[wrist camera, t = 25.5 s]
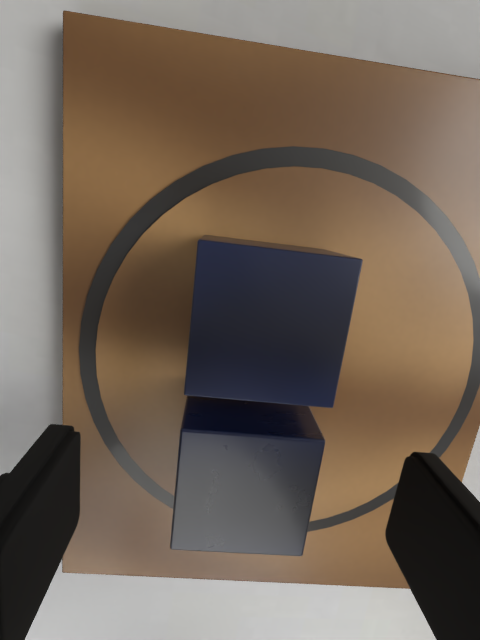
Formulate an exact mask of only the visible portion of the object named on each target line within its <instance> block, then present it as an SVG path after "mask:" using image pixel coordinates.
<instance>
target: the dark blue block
mask: <svg viewBox="0 0 480 640" xmlns="http://www.w3.org/2000/svg"><path fill="white" fill-rule="evenodd" d="M325 442H326V441H325V439H324V436H323V434H322V432H321V430H320V428H319V426H318V424H317V422H316V420H315V418H314V416H313V414H312V412H311V410H310V408H309V406H301V405H290V404H278V403H266V402H255V401H243V400H232V399H220V398H208V397H197V396H187V398H186V403H185V408H184V413H183V419H182V424H181V429H180V439H179V450H178V461H177V472H176V483H175V494H174V505H173V516H172V528H171V539H170V548H171V549H172V550H189V551H208V552H227V553H246V554H265V555H284V556H302V555H303V551H304V546H305V541H306V536H307V531H308V526H309V521H310V516H311V511H312V506H313V501H314V496H315V491H316V486H317V482H318V477H319V472H320V467H321V462H322V457H323V452H324V447H325Z"/></svg>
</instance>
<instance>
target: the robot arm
mask: <svg viewBox="0 0 480 640" xmlns="http://www.w3.org/2000/svg"><path fill="white" fill-rule="evenodd" d="M80 448H81V435H80V432H76V431H74V427H73V426H69V425H56V424H51V425H49V426H48V427H47V428H46V430H45V431H44V432H43V433H42V435H41V436H40V437H39V438H38V439H37V441H36V442H35V443H34V444H33V445H32V447H31V448H30V449H29V450H28V452H27V453H26V454H25V455H24V456H23V458H22V459H21V460H20V461H19V462H18V464H17V465H16V466H15V467H14V469H13V470H12V471H11V472H10V473H5V474H2V475H1V476H0V640H25V637H26V635H27V633H28V631H29V629H30V627H31V624H32V622H33V620H34V618H35V616H36V614H37V611H38V609H39V607H40V605H41V603H42V601H43V598H44V596H45V594H46V592H47V590H48V588H49V585H50V583H51V581H52V579H53V577H54V575H55V572H56V570H57V568H58V566H59V564H60V562H61V560H62V557H63V555H64V553H65V551H66V549H67V547H68V544H69V542H70V540H71V538H72V536H73V534H74V531H75V529H76V527H77V524H78V520H79V515H80ZM385 536H386V541H387V544H388V546H389V548H390V550H391V552H392V554H393V556H394V558H395V560H396V562H397V564H398V566H399V568H400V570H401V572H402V574H403V575H404V577H405V579H406V581H407V583H408V585H409V587H410V589H411V591H412V593H413V595H414V597H415V599H416V601H417V603H418V605H419V606H420V608H421V610H422V612H423V614H424V616H425V618H426V620H427V622H428V624H429V626H430V628H431V630H432V632H433V634H434V636H435V637H436V639H437V640H480V502H479V501H478V500H477V499H476V498H475V496H474V495H473V494H472V493H471V492H470V491H469V490H468V489H467V488H466V487H465V486H464V484H463V483H462V482H461V481H460V480H459V479H458V478H457V477H456V476H455V475H454V474H453V473H452V471H451V470H450V469H449V468H448V467H447V466H446V465H445V464H444V463H443V462H442V461H441V459H440V458H439V457H438V456H437V455H435V454H434V453H425V452H412V454H411V455H410V456H408V457H406V458H405V461H404V464H403V468H402V471H401V475H400V479H399V482H398V486H397V490H396V493H395V497H394V501H393V504H392V508H391V512H390V515H389V519H388V523H387V526H386V531H385Z"/></svg>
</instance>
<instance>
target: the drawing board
mask: <svg viewBox="0 0 480 640" xmlns="http://www.w3.org/2000/svg"><path fill="white" fill-rule="evenodd" d="M204 235H212V236H221V237H229V238H237V239H245V240H253V241H262V242H270V243H278V244H286V245H295V246H303V247H311V248H319V249H325V250H329V251H333V252H337V253H341V254H345V255H349V256H352V257H356V258H360V259H362V260H363V262H362V267H361V272H360V277H359V282H358V287H357V292H356V297H355V302H354V307H353V312H352V317H351V322H350V327H349V332H348V337H347V341H346V346H345V351H344V356H343V361H342V366H341V371H340V376H339V381H338V386H337V391H336V396H335V401H334V406H333V408H324V407H313V406H309V408H310V410H311V412H312V414H313V416H314V418H315V420H316V422H317V424H318V426H319V428H320V430H321V432H322V434H323V436H324V439H325V441H326V442H325V447H324V452H323V457H322V462H321V467H320V472H319V477H318V482H317V486H316V491H315V496H314V501H313V506H312V511H311V516H310V521H309V526H308V531H307V536H306V541H305V546H304V551H303V555H302V556H284V555H265V554H246V553H227V552H208V551H189V550H172V549H171V548H170V539H171V528H172V516H173V505H174V494H175V483H176V472H177V461H178V450H179V439H180V429H181V424H182V419H183V413H184V408H185V403H186V398H187V396H186V395H184V386H185V375H186V364H187V353H188V342H189V331H190V320H191V309H192V298H193V287H194V275H195V264H196V253H197V242H198V240H199V239H200V238H201V237H202V236H204ZM63 425H69V426H73V427H74V431H76V432H80V435H81V448H80V515H79V520H78V524H77V527H76V529H75V531H74V534H73V536H72V538H71V540H70V542H69V544H68V547H67V549H66V551H65V553H64V555H63V557H62V572H63V573H84V574H106V575H128V576H149V577H171V578H192V579H214V580H235V581H257V582H278V583H300V584H321V585H343V586H364V587H386V588H408V589H410V587H409V585H408V583H407V581H406V579H405V577H404V575H403V574H402V572H401V570H400V568H399V566H398V564H397V562H396V560H395V558H394V556H393V554H392V552H391V550H390V548H389V546H388V544H387V541H386V536H385V531H386V526H387V523H388V519H389V515H390V512H391V508H392V504H393V501H394V497H395V493H396V490H397V486H398V482H399V479H400V475H401V471H402V468H403V464H404V461H405V458H406V457H408V456H410V455H411V454H412V452H425V453H434V454H435V455H437V456H438V457H439V458H440V459H441V461H442V462H443V463H444V464H445V465H446V466H447V467H448V468H449V469H450V470H451V471H452V473H453V474H454V475H455V476H456V477H457V478H458V479H459V480H460V481H461V482H462V480H463V476H464V473H465V470H466V467H467V464H468V460H469V457H470V454H471V451H472V448H473V445H474V441H475V438H476V435H477V432H478V429H479V426H480V79H474V78H468V77H462V76H456V75H450V74H444V73H438V72H432V71H426V70H420V69H414V68H408V67H402V66H396V65H390V64H384V63H378V62H372V61H366V60H359V59H353V58H347V57H341V56H335V55H329V54H323V53H317V52H311V51H305V50H299V49H293V48H287V47H281V46H275V45H269V44H263V43H257V42H251V41H245V40H239V39H233V38H227V37H221V36H214V35H208V34H202V33H196V32H190V31H184V30H178V29H172V28H166V27H160V26H154V25H148V24H142V23H136V22H130V21H124V20H118V19H112V18H106V17H100V16H94V15H88V14H82V13H76V12H69V11H63Z"/></svg>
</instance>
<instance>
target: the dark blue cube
mask: <svg viewBox="0 0 480 640" xmlns="http://www.w3.org/2000/svg"><path fill="white" fill-rule="evenodd" d="M362 262H363V260H362V259H360V258H356V257H352V256H349V255H345V254H341V253H337V252H333V251H329V250H325V249H319V248H311V247H303V246H295V245H286V244H278V243H270V242H262V241H253V240H245V239H237V238H229V237H221V236H212V235H204V236H202V237H201V238H200V239H199V240H198V242H197V253H196V264H195V275H194V287H193V298H192V309H191V320H190V331H189V342H188V353H187V364H186V375H185V386H184V395H186V396H197V397H208V398H220V399H232V400H243V401H255V402H266V403H278V404H290V405H301V406H313V407H324V408H333V406H334V401H335V396H336V391H337V386H338V381H339V376H340V371H341V366H342V361H343V356H344V351H345V346H346V341H347V337H348V332H349V327H350V322H351V317H352V312H353V307H354V302H355V297H356V292H357V287H358V282H359V277H360V272H361V267H362Z"/></svg>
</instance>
